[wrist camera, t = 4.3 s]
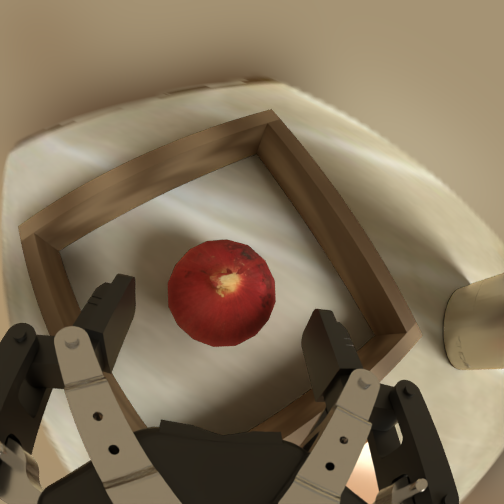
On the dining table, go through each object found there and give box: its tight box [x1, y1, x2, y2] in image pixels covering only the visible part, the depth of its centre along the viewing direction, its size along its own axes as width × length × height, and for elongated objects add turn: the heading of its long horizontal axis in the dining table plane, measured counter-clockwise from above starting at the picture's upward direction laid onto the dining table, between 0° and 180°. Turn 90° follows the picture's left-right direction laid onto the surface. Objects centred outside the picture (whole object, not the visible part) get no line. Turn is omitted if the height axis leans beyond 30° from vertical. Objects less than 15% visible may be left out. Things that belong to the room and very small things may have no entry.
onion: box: [168, 240, 276, 347], centre depth 15 cm, size 6×6×8 cm
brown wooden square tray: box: [18, 109, 422, 446], centre depth 16 cm, size 20×20×4 cm
